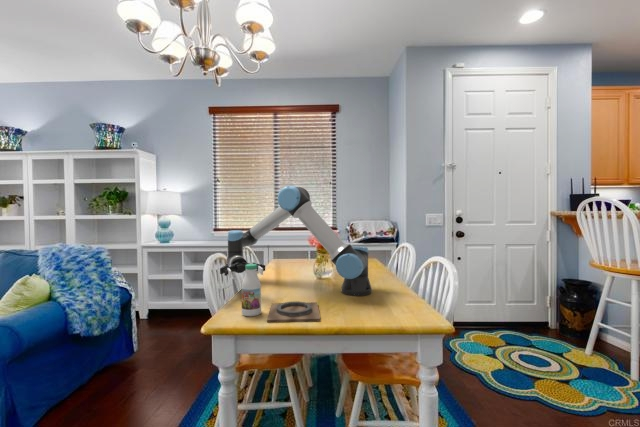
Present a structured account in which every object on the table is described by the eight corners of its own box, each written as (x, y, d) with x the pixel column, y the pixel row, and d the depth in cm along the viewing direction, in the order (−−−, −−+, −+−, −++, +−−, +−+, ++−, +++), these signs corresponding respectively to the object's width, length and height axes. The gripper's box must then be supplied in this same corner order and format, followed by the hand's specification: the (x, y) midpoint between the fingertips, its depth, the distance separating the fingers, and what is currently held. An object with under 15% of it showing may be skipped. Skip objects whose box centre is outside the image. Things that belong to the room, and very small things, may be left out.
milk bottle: (244, 310, 132) (244, 262, 132) (262, 310, 132) (262, 262, 131) (239, 316, 124) (238, 266, 124) (258, 317, 124) (258, 266, 124)
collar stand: (317, 304, 140) (317, 299, 139) (320, 321, 120) (320, 314, 120) (271, 305, 138) (271, 299, 138) (266, 322, 118) (266, 315, 118)
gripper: (263, 269, 161) (274, 279, 142) (211, 273, 151) (216, 284, 132) (263, 255, 161) (274, 262, 141) (211, 258, 151) (216, 266, 131)
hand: (246, 273), depth 136 cm, fingers open, 13 cm apart
